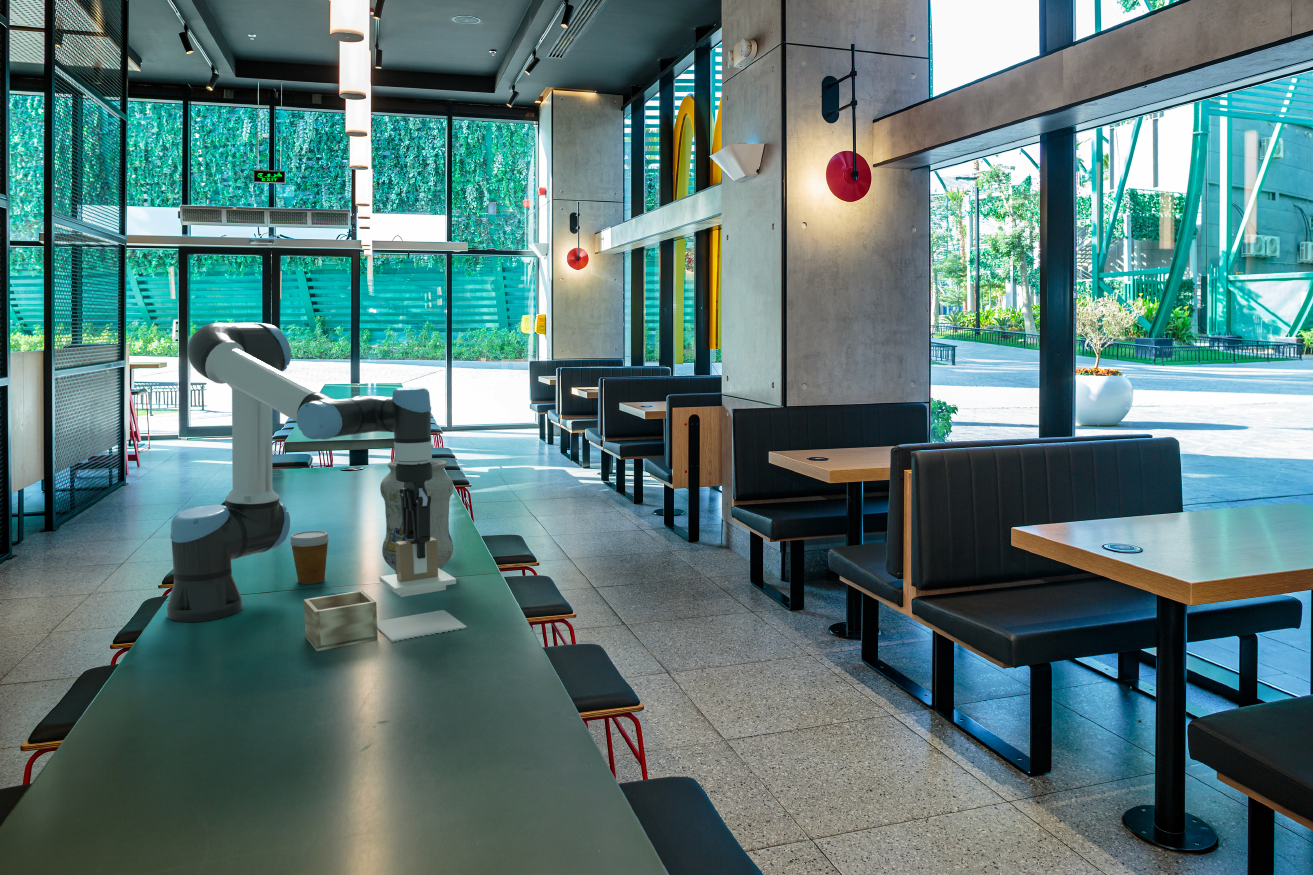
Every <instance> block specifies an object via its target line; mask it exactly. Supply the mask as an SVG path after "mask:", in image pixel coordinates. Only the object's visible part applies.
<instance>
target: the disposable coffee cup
mask: <svg viewBox="0 0 1313 875" xmlns="http://www.w3.org/2000/svg"><path fill="white" fill-rule="evenodd" d="M330 539H331V538H330V536H329V534H328V532H327V531H324V530H306V531H299V532H295V533H293V534H291V535H290V539H289V541H288V542H289V543H290V544H289V545H290V546H291V551H292V554H293V562H294V567H295V571H296V572H295V573H296V577H297V582H298V584H301V585H313V584H319V583H322V582H324V581H325V578H326V566H327V557H328V556H327V555H328V544H329V540H330Z"/></svg>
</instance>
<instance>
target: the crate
mask: <svg viewBox="0 0 1313 875" xmlns="http://www.w3.org/2000/svg"><path fill="white" fill-rule="evenodd" d="M303 613H304V617H303V618H304V634H305V639H306V640H307V641H308V642H309V643H310V645H311V646H312V647H313V648H314V650H315V651H316V652H319V651H325V650H331V649H336V648H341V647H347V646H354V645H356V644H357V645H358V644H364V643H370V642H376V641H379V640H378V639H379V638H378V632H379V631H378V629H377V621H378V613H377V601H376V600H375V599H374V598H372V597H371V596H370V595H369V594H367V592H365V591H364V590H363V589H362V590H356V591H351V592H344V593H338V594H331V595H325V596H324V595H323V596H316V597H311V598H304V599H303Z"/></svg>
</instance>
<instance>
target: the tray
mask: <svg viewBox="0 0 1313 875" xmlns="http://www.w3.org/2000/svg"><path fill="white" fill-rule="evenodd" d="M465 628H466V629H467V628H468V626H467V625H465V624H464V623H463V622H462V621H460V620H459V619H457V618H456V617H454V616H453V615H452V614H451V613H449V612H448V611H446V610H444V609H441V610H434V611H428V612H424V613H417V614H412V615H405V616H399V617H395V618H390V619H389V618H388V619H383V620H377V630H378V629H379V630H380V631H381V632H382V633H383V636H385V637H386V638H387V639H388V640H389V641H390V642H391V643H394V642H395V641H396V642H400V641H399V640H402V641H405V640H404V639H407V640H410V639H409V638H413V639H415V638H414V637H418V636H423V637H425V636H424V635H429V636H431V635H430V634H434V635H436V634H435V633H439V634H443V633H442V632H445V633H448V631H450V632H454V631H453V630H455V631H460V630H459V629H461V630H465ZM379 630H378V631H379ZM380 631H379V632H380ZM381 632H380V633H381ZM382 633H381V634H382ZM418 638H419V637H418ZM396 642H395V643H396Z"/></svg>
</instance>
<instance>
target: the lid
mask: <svg viewBox="0 0 1313 875" xmlns="http://www.w3.org/2000/svg"><path fill="white" fill-rule="evenodd" d="M411 541H414V540H406V541H398V542H395V544H396V572H397V574H395V573H396V572H395V573H392V574H387V575H381V576H379V577H378V578H379V582H381V583H382V584H383V586H384V585H385V587H387V588H388V589H389V590H390V591H392V592H393V593H394V594H397V595H398V596H399V597H401V598H404V597H410V596H416V595H422V594H429V593H435V592H441V591H446V590H447V586H450V585H455V584H457V578H455V577H454V576H452V575H450V574H449V573H448V572H446V571H444V570H443V569H442V568H441V569H439V568H438V554H437V540H436V539H435V538H433V537H430V541H427V542H426V553H427V572H425V573H419V574H414V573H413V546H412V544H411Z"/></svg>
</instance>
